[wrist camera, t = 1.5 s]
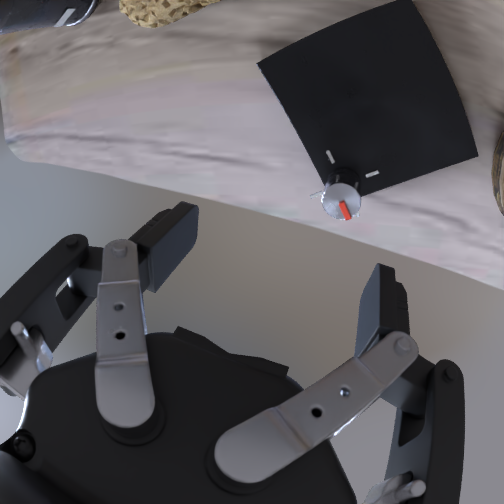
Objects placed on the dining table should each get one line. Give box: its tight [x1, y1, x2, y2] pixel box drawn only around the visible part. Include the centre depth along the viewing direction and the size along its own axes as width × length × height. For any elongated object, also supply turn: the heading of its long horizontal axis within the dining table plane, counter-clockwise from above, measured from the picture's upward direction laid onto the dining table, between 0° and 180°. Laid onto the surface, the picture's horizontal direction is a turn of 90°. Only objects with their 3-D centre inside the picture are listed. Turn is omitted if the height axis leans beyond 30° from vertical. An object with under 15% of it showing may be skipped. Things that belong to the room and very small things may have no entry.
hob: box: [256, 0, 478, 217], centre depth 27 cm, size 19×19×3 cm
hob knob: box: [322, 168, 361, 220], centre depth 29 cm, size 4×4×5 cm
